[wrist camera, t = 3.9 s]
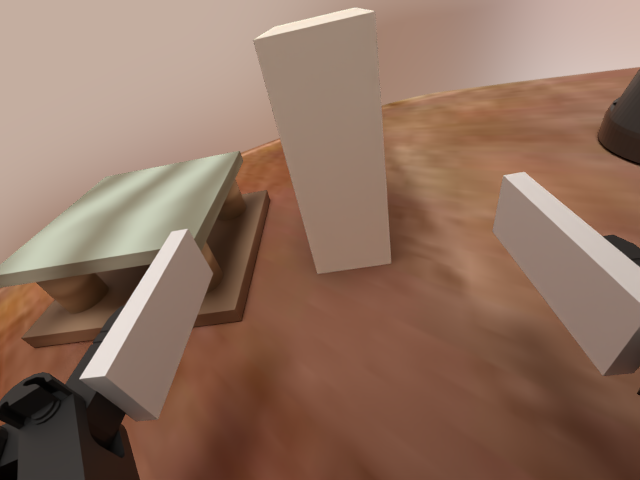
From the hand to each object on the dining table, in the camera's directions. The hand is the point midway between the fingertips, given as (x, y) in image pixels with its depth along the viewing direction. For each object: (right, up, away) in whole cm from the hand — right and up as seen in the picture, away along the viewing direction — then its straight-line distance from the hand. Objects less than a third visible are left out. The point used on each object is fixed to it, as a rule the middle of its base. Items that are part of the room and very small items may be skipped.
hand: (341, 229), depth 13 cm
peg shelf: (-14, -2, +15) cm, 21 cm away
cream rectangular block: (+2, 0, +13) cm, 13 cm away
